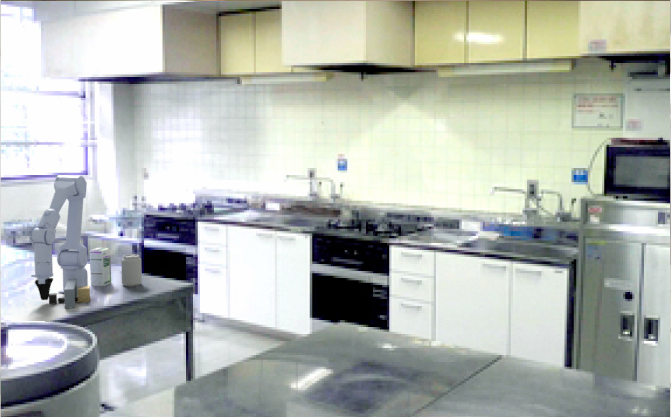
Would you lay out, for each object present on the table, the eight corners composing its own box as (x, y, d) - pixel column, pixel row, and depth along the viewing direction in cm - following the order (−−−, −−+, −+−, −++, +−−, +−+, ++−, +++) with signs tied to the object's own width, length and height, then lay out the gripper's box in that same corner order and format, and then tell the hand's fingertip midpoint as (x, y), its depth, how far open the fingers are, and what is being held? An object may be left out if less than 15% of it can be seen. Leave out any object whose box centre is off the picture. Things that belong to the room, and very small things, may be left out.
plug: (48, 304, 233) (48, 290, 233) (49, 301, 237) (49, 288, 237) (89, 302, 238) (89, 288, 237) (90, 299, 242) (89, 285, 241)
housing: (64, 308, 229) (64, 289, 228) (68, 296, 245) (68, 278, 244) (74, 307, 230) (73, 289, 229) (77, 296, 246) (77, 278, 245)
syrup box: (103, 286, 261) (103, 250, 259) (90, 285, 262) (89, 249, 261) (111, 283, 267) (110, 247, 265) (98, 282, 268) (97, 247, 266)
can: (117, 285, 263) (117, 256, 261) (130, 282, 270) (129, 252, 268) (133, 287, 260) (132, 257, 259) (145, 283, 267) (145, 254, 266)
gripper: (33, 258, 239) (35, 295, 240) (28, 266, 225) (29, 305, 227) (55, 257, 241) (56, 294, 243) (50, 265, 227) (51, 304, 229)
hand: (44, 299), depth 235 cm, fingers closed, pressing on plug
